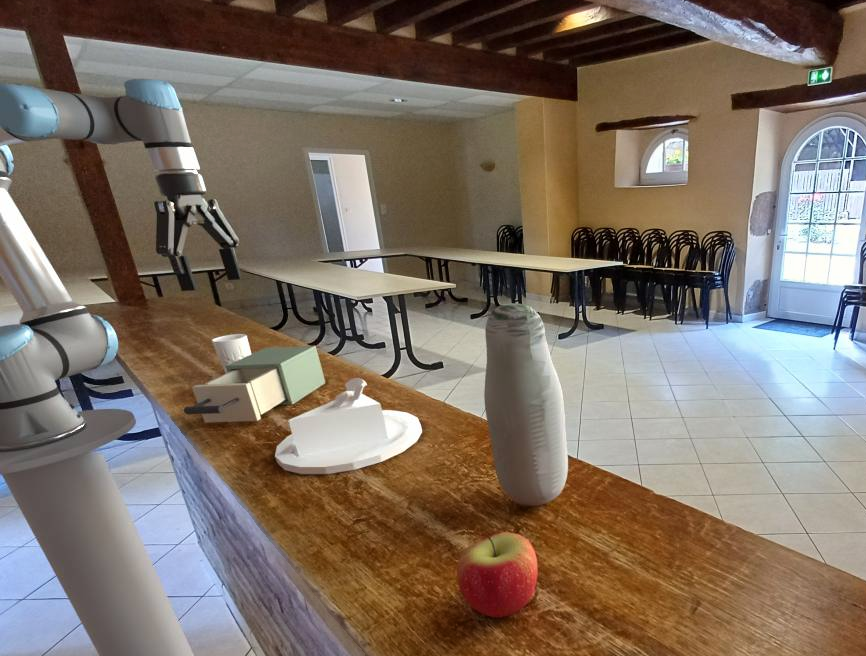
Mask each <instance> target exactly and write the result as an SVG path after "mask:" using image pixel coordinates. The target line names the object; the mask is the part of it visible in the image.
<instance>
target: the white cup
mask: <svg viewBox="0 0 866 656" xmlns="http://www.w3.org/2000/svg"><path fill="white" fill-rule="evenodd" d="M211 343H212V345H213V347H214V351H215V353H216V355H217V358H218V360H219V363H220V365H221V368H222V369H223V371H224V374H226V373H228V372H227V369H226V365H229V364H231V363H233V362H235V361H237V360H240V359H242V358H244V357H246V356H249V355H251V354H252V351H251V346H250V343H249V339H248V335H247V334H246V333H235V334H228V335H222V336H218V337H214V338H213V339H211Z"/></svg>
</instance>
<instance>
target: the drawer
mask: <svg viewBox="0 0 866 656" xmlns="http://www.w3.org/2000/svg"><path fill="white" fill-rule="evenodd" d="M191 389H192V391H193V394H194V397H195V400H196V404H194V405H192V406H185V407H184V408H183V412H184V414H185V415H201V416H202V419H203V422H204V423H230V422H231V423H233V422H234V423H235V422H258V421H260V420H261V419H262V417H261V416H262V415H263V414H265V413H267V412H268V411H270V410H272V409H273V408H274V407H277V406H279V405H278V404H279V403H281V402H283V401H284V400H286V399H287V396H286V392H285V389H284V385H283V382H282V379H281V375H280V372H279V368H278V367H269V368H244V369H235V370H232V371H230V372H228V373H226V374H225V373H224V374H222V375H219V376H218V377H216V378H214V379H211V380H209V381H207V382H205V383H204V384H195V385H193V386H191Z"/></svg>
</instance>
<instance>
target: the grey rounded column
mask: <svg viewBox="0 0 866 656" xmlns="http://www.w3.org/2000/svg"><path fill="white" fill-rule="evenodd" d="M545 329H546V328H545V324H544V321H543V320H542V318H541V315H539V313H538V312H537V311H536V310H535V309H534V308H533V307H531V306H529V305H526V304H522V303H504V304H500V305H499V306H497V307H496V308H494V309H493V310H491V312H490V313H489V315H488V317H487V320H486V324H485V344H486V365H485V375H484V377H485V379H484V390H483V392H484V393H483V397H484V398H483V399H484V409H485V417H486V422H487V429H488V433H489V438H490V444H491V451H492V458H493V465H494V470H495V474H496V479H497V481H498V484H499V485H500V486H501V489H502V491H503V492H504V493H505V495H506V496H507V497H508V498H510V499H511V500H513V501H514V502H516V503H518V504H520V505H522V506H523V505H524V506H528V507H529V506H530V507H536V506H537V507H539V506H542V505H546V504H548V503H550V502H552V501H553V500H555V499H556V498H557V497H558V496H560V494H561V493H562V491H563V490H564V488H565V485H566V482H567V479H568V473H569V457H568V445H567V432H566V431H567V430H566V416H565V402H564V396H563V389H562V386H561V383H560V379H559V376H558V374H557V370H556V368H555V366H554V363H553V360H552V356H551V353H550V350H549V346H548V342H547V339H546V330H545Z"/></svg>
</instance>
